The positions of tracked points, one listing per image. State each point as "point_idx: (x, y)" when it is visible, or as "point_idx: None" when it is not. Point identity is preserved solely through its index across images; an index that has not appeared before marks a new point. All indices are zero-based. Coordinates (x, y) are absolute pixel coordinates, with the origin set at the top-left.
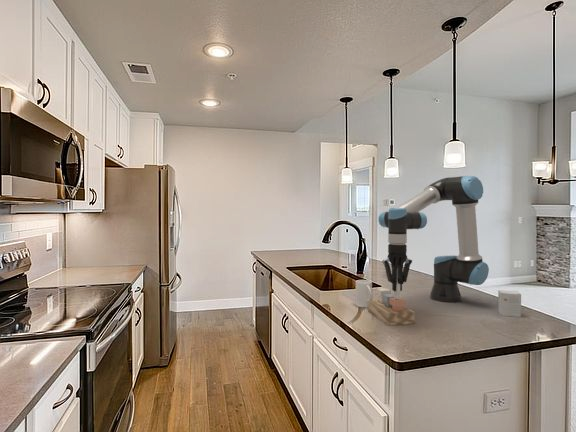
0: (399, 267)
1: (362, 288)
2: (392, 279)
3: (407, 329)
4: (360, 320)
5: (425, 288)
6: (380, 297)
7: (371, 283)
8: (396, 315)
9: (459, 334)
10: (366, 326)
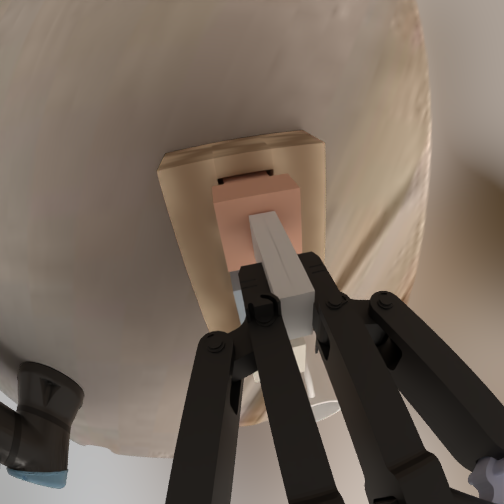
0: (336, 495)
1: (326, 383)
2: (387, 319)
3: (229, 71)
4: (378, 199)
5: (98, 425)
6: None
7: None
8: (269, 145)
9: (33, 45)
10: (386, 130)
